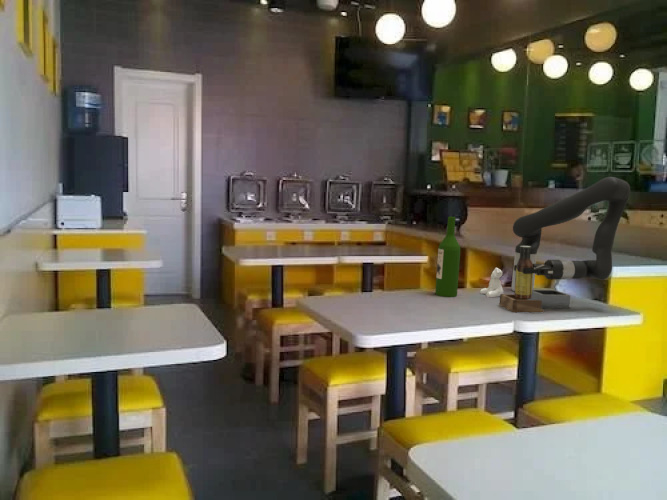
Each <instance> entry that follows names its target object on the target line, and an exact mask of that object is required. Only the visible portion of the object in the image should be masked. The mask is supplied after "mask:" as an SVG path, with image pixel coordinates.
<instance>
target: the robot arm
mask: <svg viewBox="0 0 667 500" xmlns="http://www.w3.org/2000/svg"><path fill="white" fill-rule="evenodd" d="M630 194H631V186H630V184H629V183H628V182H627V181H625V180H624V179H622V178H617V177H616V176H606V177H603V178H601V179H600V180H598V181H597V182H595V183H593V184H592V185H590V186H588V187H587V188H584V189H582V190H581V191H578V192H576V193H574V194H571V195H569V196H566V197H564V198H562V199H559V200H558V201H556V202H554V203H552V204H550V205H548V206H546V207H544V208H542V209H541V210H538V211H535V212H533V213H530V214H527V215H524V216H523V215H522V216H521V217H518V218H517V219H516V220H515V221H514V223H513V224H512V231H513V233H514V235H515V236H517V237H519V238H521V240H520V242H519V244H517V245H515V248H514V249H515V250H514V260H513V261H514V262H513V269H512V277H511V278H512V279H511V291H513V292H515V277H516V266H517V263H518V261H519V258H520V246H531V251H530V260H531V261H532V263H533V268H523V273H524V274H533V281H532V290H535V280H536V277H535V276H544V278H545V279H547V280H569V279H570V280H571V279H573V280H575V279H576V280H578V279H580V280H581V279H583V278H590V279H594V280H596V279H597V280H607V279H608V278H609V277H610V276H611V273H612V269H613V262H612V261H613V255H612V250H613V247H614V246H613V245H614V241H615V237H616V233H617V229H618V226H619V223H620V220H621V218H622V215H623V213H624V210H625V207H626V205H627V203H628V200H629V198H630ZM604 201H608V208H607V211H606V213H605V216H604V218H603V219H602V220H601V223H599V225H598V227H597V229H596V231H595V234H594V238H593V243H592V248H591V250H592V252H593V254H595V255H596V260H595V259H585V260H568V259H547V260H546V261H544V263H543V264H542V263H537V257H538V254H537V253H538V250H539V248H540V245H541V238H542V231H543V230H542V229H544V228H546V227H552V226H556V225H560V224H564V223H567V222H569V221H572V220H574V219H576V218H579V217H580V216H582V215H583V213H585V211H586V210H587V209H588V208H589V207H591V206H593V205H595V204H597V203H601V202H604Z"/></svg>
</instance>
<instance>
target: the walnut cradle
mask: <svg viewBox="0 0 667 500" xmlns="http://www.w3.org/2000/svg"><path fill="white" fill-rule="evenodd" d="M541 304H542V301H541V300H527V299H521V298H516V297H515V293H512V294H510V293H508V294H507V293H506V294H505V293H503V294H500V297H499V303H498V305H499V307H501V308H503V309H506V310H508V311H509V312H512V313H517V312H529V313H530V312H543V313H544V309H543V308H541Z"/></svg>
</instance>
